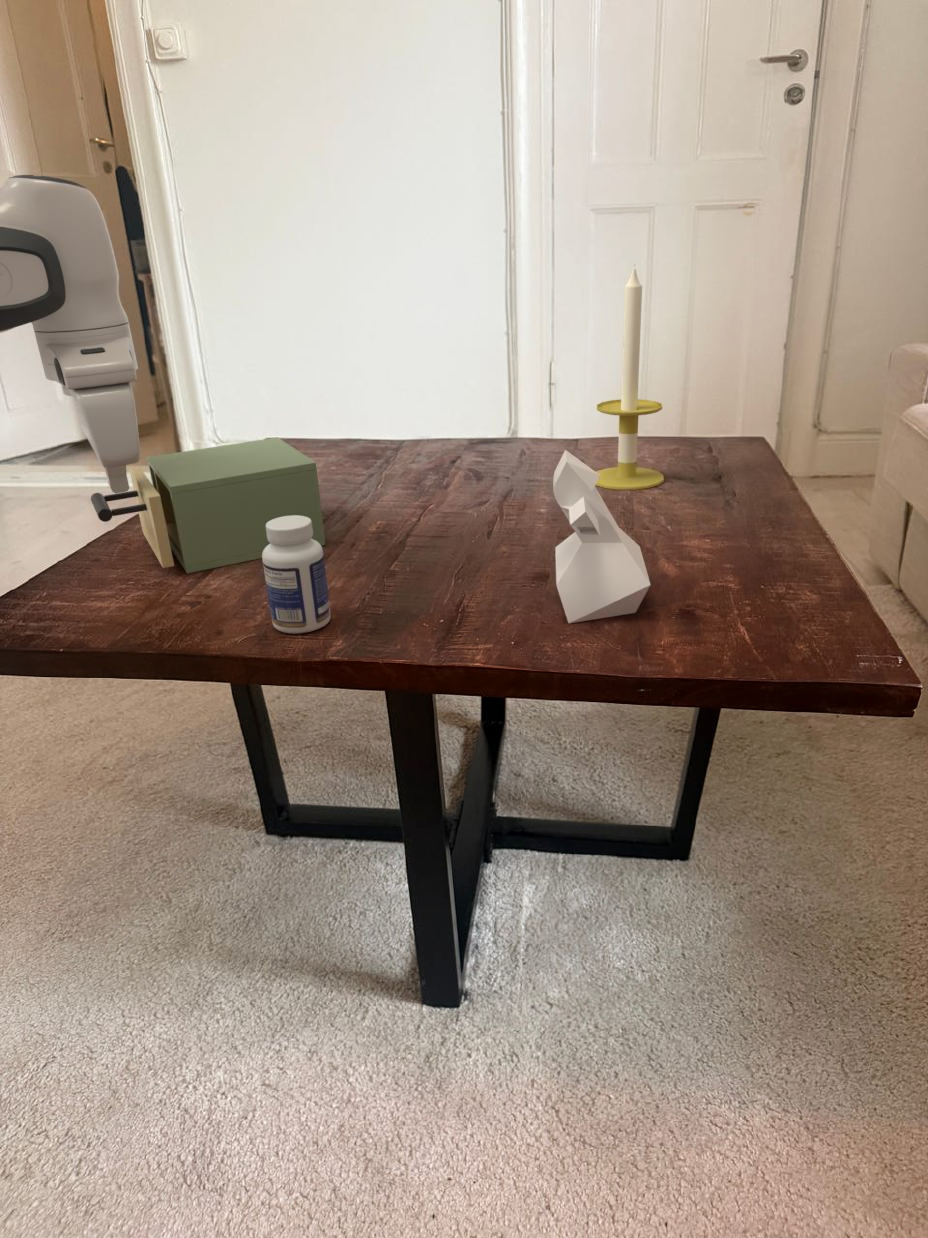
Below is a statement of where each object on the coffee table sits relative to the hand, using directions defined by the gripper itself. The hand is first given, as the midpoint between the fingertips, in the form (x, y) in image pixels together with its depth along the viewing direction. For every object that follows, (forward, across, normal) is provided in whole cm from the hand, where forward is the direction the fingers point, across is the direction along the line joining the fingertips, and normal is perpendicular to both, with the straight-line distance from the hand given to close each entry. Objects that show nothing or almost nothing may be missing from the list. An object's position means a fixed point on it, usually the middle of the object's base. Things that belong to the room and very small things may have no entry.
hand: (119, 489), depth 93 cm
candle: (+9, +6, +63) cm, 64 cm away
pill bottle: (+8, +26, +11) cm, 30 cm away
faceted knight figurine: (+9, +36, +37) cm, 52 cm away
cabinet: (+8, 0, +12) cm, 15 cm away
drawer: (+7, 0, +7) cm, 10 cm away
